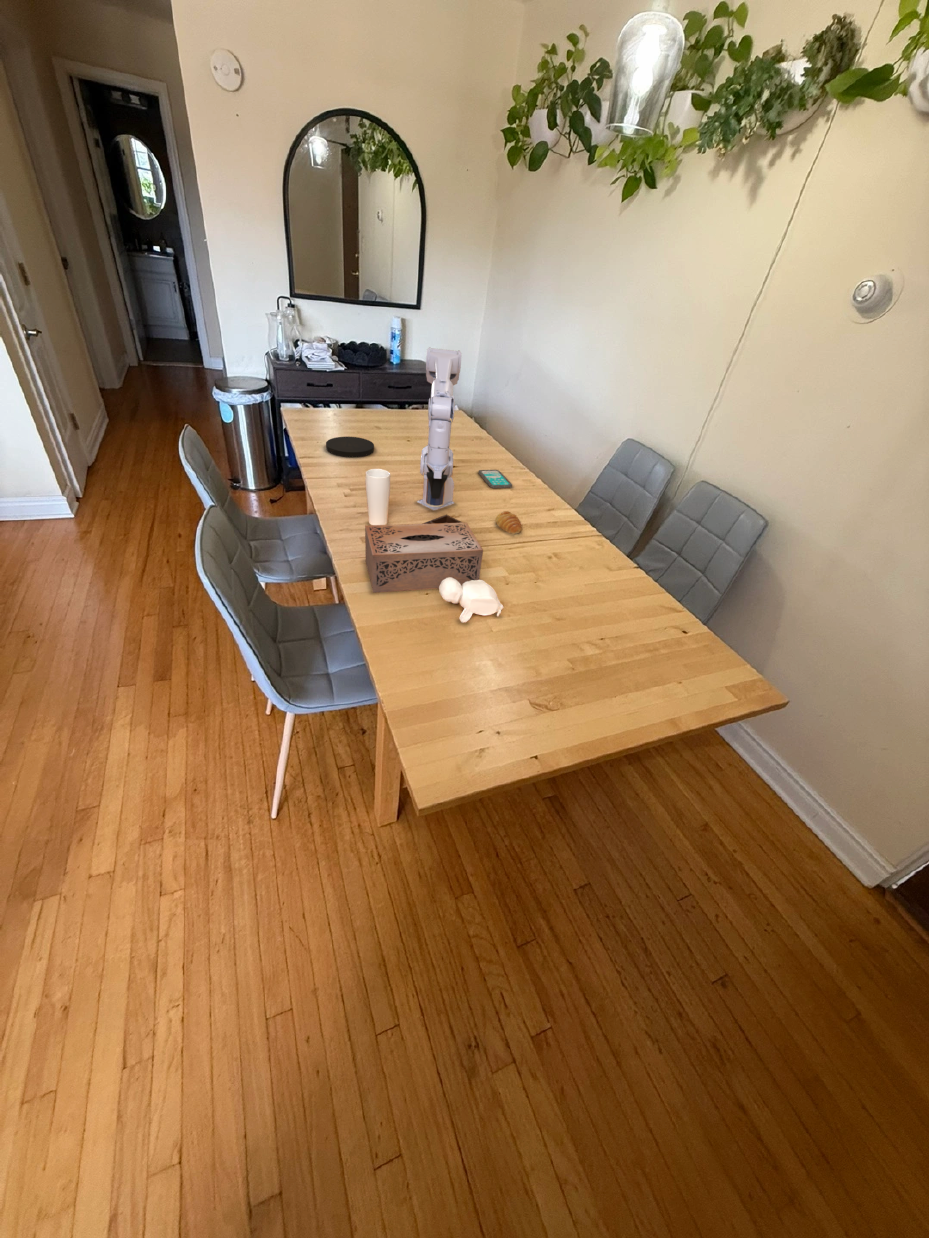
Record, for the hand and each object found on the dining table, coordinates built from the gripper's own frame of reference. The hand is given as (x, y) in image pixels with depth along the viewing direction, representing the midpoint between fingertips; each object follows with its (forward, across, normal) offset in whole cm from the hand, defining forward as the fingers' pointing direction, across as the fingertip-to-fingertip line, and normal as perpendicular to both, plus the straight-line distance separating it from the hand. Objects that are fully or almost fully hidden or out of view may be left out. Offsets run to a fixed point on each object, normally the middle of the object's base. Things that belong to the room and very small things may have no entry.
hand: (435, 494), depth 142 cm
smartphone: (+10, +41, -23) cm, 48 cm away
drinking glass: (+11, 0, +16) cm, 19 cm away
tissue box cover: (+10, -26, +3) cm, 28 cm away
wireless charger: (+11, +61, +31) cm, 69 cm away
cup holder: (+10, -4, -1) cm, 11 cm away
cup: (+3, 0, 0) cm, 3 cm away
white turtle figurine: (+10, -41, -8) cm, 43 cm away
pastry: (+11, +3, -23) cm, 26 cm away
